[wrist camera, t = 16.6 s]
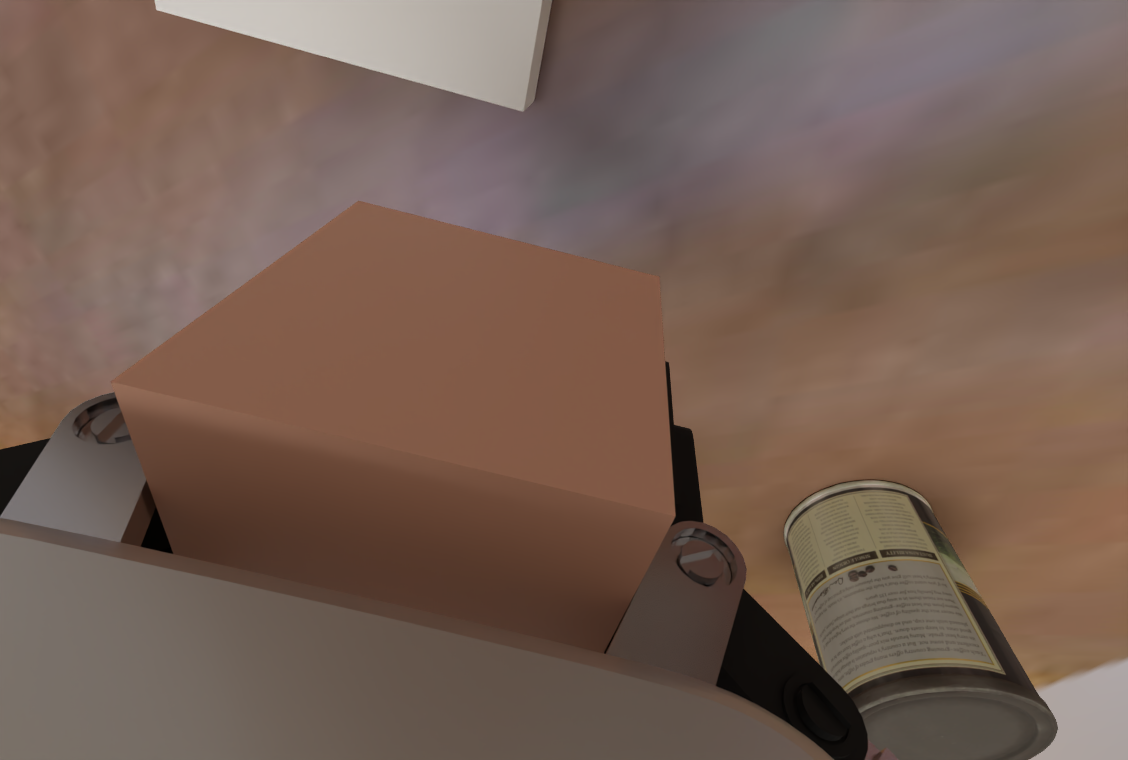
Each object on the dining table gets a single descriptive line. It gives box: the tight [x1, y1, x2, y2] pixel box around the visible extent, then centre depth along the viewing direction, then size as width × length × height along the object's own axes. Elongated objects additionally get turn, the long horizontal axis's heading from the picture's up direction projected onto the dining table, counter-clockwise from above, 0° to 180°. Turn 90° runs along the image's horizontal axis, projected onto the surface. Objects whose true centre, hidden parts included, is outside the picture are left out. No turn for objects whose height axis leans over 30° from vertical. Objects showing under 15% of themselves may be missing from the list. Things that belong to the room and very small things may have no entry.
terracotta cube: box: [111, 201, 676, 653], centre depth 10 cm, size 6×6×6 cm
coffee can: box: [784, 480, 1058, 760], centre depth 34 cm, size 10×10×14 cm
